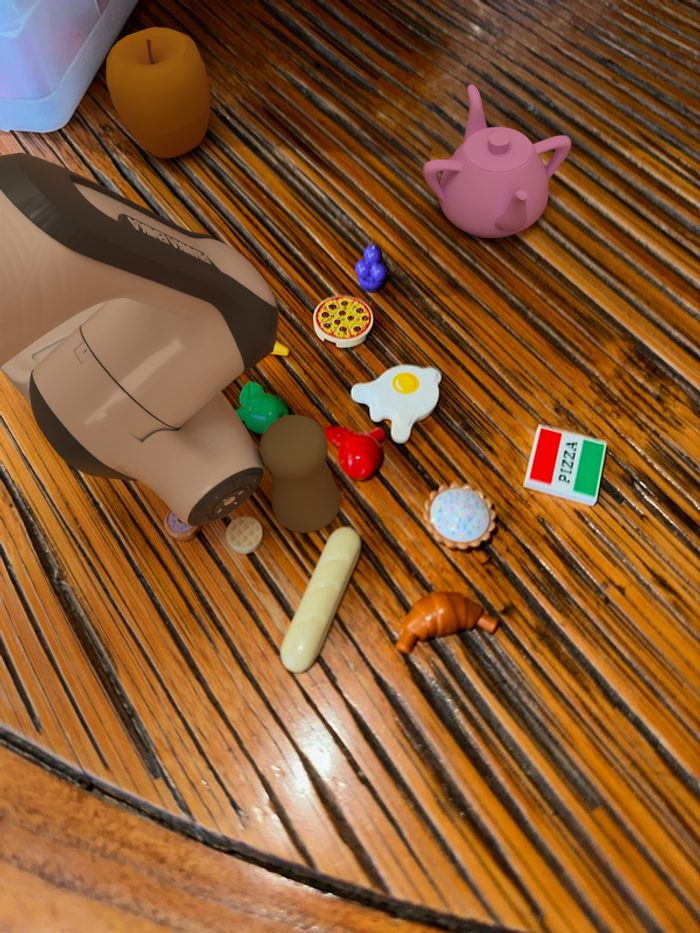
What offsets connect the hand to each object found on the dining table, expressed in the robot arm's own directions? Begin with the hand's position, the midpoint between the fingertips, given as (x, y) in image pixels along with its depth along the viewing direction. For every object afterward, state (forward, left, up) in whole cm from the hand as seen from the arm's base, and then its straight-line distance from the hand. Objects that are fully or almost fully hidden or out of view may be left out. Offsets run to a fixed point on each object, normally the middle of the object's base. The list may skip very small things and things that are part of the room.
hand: (75, 270), depth 71 cm
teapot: (+39, -18, -8) cm, 44 cm away
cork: (+1, -30, -8) cm, 31 cm away
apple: (+22, +16, -8) cm, 28 cm away
